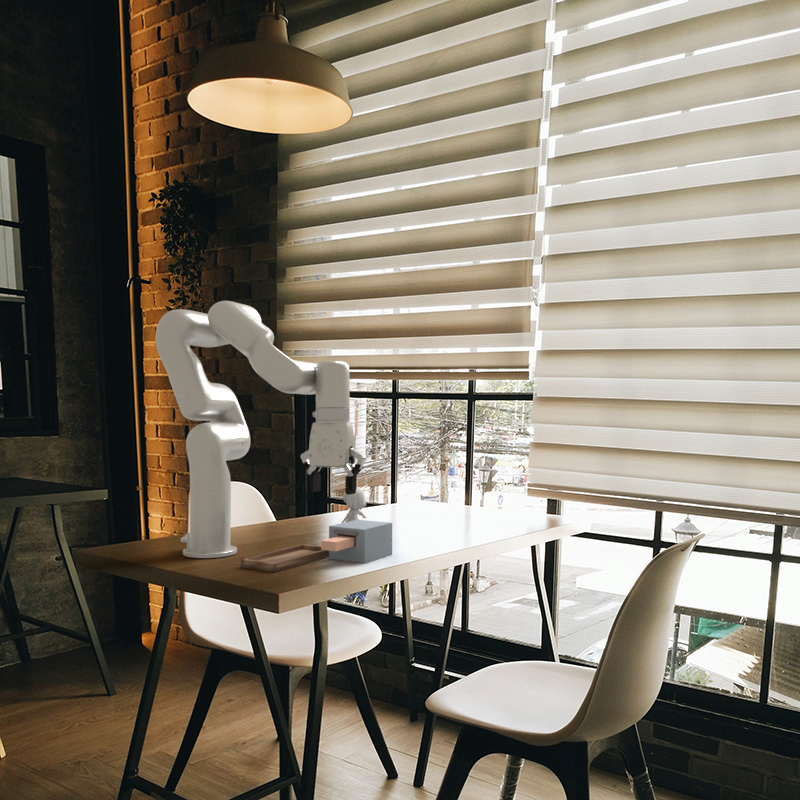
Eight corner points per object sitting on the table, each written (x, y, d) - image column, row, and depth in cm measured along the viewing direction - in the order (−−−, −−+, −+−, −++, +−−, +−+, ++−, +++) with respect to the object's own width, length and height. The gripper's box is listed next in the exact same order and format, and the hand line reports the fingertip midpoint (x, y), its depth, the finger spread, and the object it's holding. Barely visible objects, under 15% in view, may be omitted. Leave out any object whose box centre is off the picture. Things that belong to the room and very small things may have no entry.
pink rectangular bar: (321, 549, 161) (321, 540, 161) (360, 539, 175) (361, 530, 175) (335, 551, 159) (335, 542, 159) (375, 540, 173) (375, 532, 173)
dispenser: (327, 559, 168) (327, 526, 169) (357, 550, 179) (357, 519, 179) (363, 563, 163) (363, 529, 164) (392, 554, 174) (392, 522, 174)
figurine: (357, 540, 193) (357, 484, 193) (375, 543, 190) (376, 485, 190) (332, 546, 184) (332, 487, 185) (351, 549, 181) (351, 489, 181)
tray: (240, 567, 159) (241, 559, 159) (302, 551, 178) (302, 544, 178) (274, 572, 154) (274, 563, 154) (334, 555, 173) (334, 547, 173)
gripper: (291, 416, 163) (291, 492, 163) (355, 416, 155) (355, 496, 154) (312, 416, 170) (312, 489, 169) (374, 416, 161) (374, 493, 161)
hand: (332, 492), depth 162 cm, fingers open, 9 cm apart
